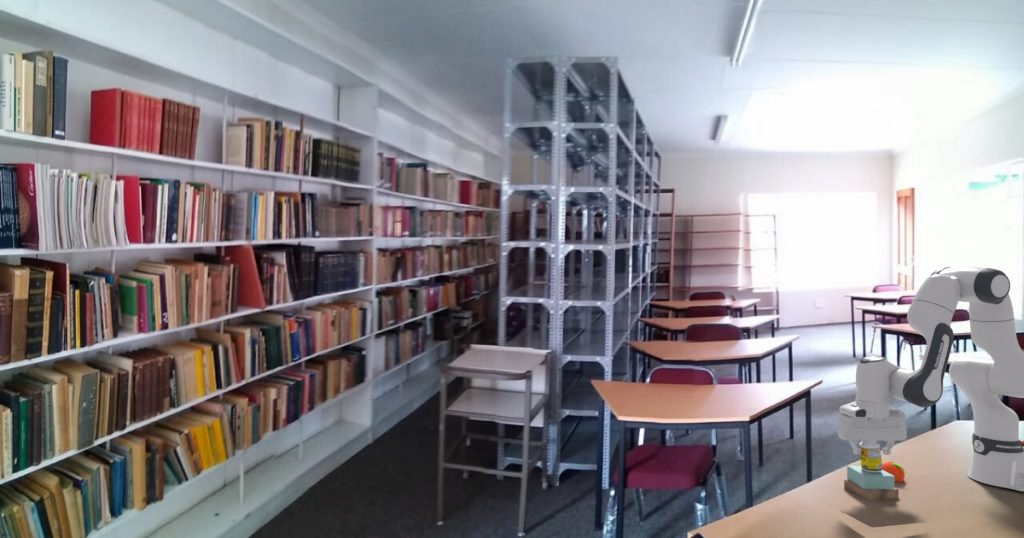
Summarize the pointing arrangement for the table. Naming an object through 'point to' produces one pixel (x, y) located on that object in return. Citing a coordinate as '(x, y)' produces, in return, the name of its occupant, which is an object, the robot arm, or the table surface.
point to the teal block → (870, 478)
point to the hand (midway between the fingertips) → (871, 454)
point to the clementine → (894, 470)
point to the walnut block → (871, 491)
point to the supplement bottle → (870, 456)
